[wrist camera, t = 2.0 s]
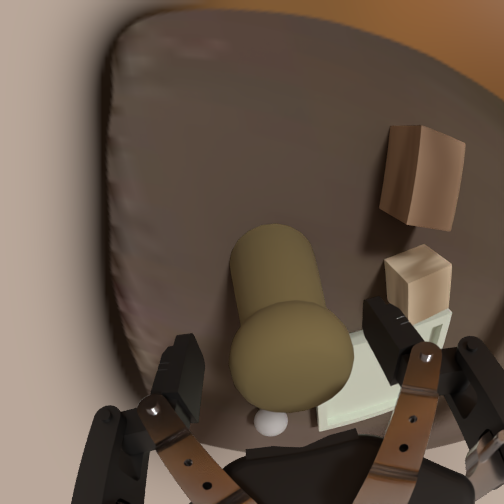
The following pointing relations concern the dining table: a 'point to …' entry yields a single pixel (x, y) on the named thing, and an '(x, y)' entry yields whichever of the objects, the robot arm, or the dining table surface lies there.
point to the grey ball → (270, 422)
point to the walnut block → (422, 177)
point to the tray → (373, 379)
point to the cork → (284, 324)
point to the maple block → (418, 283)
